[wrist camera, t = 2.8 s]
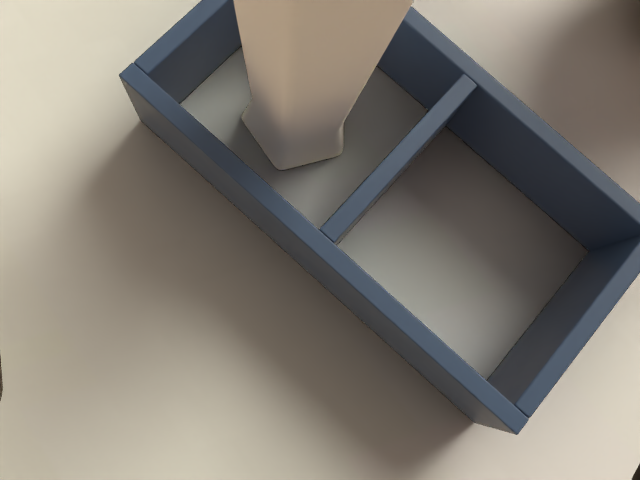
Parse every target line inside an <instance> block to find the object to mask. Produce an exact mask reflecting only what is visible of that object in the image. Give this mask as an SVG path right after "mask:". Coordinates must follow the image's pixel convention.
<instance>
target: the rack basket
mask: <svg viewBox="0 0 640 480" xmlns="http://www.w3.org/2000/svg"><path fill="white" fill-rule="evenodd" d="M241 45H242V43H241V38H240V33H239V28H238V22H237V17H236V12H235V7H234V1H233V0H202V1H201V2H199V3H198V4H197V5H196V6H195V7H194V8H193V9H192V10H191V11H189V12H188V13H187V14H186V15H185V16H184V17H183V18H182V19H181V20H180V21H178V22H177V23H176V24H175V25H174V26H173V27H172V28H171V29H170V30H168V31H167V32H166V33H165V34H164V35H163V36H162V37H161V38H160V39H158V40H157V41H156V42H155V43H154V44H153V45H152V46H151V47H150V48H149V49H147V50H146V51H145V52H144V53H143V54H142V55H141V56H140V57H139V58H137V59H136V60H135V61H134V63H131V64H130V65H129V66H128V67H127V68H126V69H125V70H124V71H123V72H122V73H120V74H119V77H120V79H121V81H122V83H123V85H124V87H125V89H126V91H127V93H128V95H129V97H130V99H131V102H132V104H133V106H134V108H135V110H136V112H137V114H138V116H139V118H140V120H141V121H142V122H143V123H144V124H145V125H146V126H148V127H149V128H150V129H151V130H152V131H153V132H154V133H155V134H156V135H157V136H159V137H160V138H161V139H162V140H163V141H164V142H165V143H166V144H167V145H169V146H170V147H171V148H172V149H173V150H174V151H175V152H176V153H177V154H178V155H180V156H181V157H182V158H183V159H184V160H185V161H186V162H187V163H188V164H189V165H191V166H192V167H193V168H194V169H195V170H196V171H197V172H198V173H199V174H201V175H202V176H203V177H204V178H205V179H206V180H207V181H208V182H209V183H210V184H212V185H213V186H214V187H215V188H216V189H217V190H218V191H219V192H220V193H222V194H223V195H224V196H225V197H226V198H227V199H228V200H229V201H230V202H231V203H233V204H234V205H235V206H236V207H237V208H238V209H239V210H240V211H241V212H242V213H244V214H245V215H246V216H247V217H248V218H249V219H250V220H251V221H252V222H254V223H255V224H256V225H257V226H258V227H259V228H260V229H261V230H262V231H263V232H265V233H266V234H267V235H268V236H269V237H270V238H271V239H272V240H273V241H275V242H276V243H277V244H278V245H279V246H280V247H281V248H282V249H283V250H284V251H286V252H287V253H288V254H289V255H290V256H291V257H292V258H293V259H294V260H295V261H297V262H298V263H299V264H300V265H301V266H302V267H303V268H304V269H305V270H307V271H308V272H309V273H310V274H311V275H312V276H313V277H314V278H315V279H316V280H318V281H319V282H320V283H321V284H322V285H323V286H324V287H325V288H326V289H327V290H329V291H330V292H331V293H332V294H333V295H334V296H335V297H336V298H337V299H339V300H340V301H341V302H342V303H343V304H344V305H345V306H346V307H347V308H348V309H350V310H351V311H352V312H353V313H354V314H355V315H356V316H357V317H358V318H360V319H361V320H362V321H363V322H364V323H365V324H366V325H367V326H368V327H369V328H371V329H372V330H373V331H374V332H375V333H376V334H377V335H378V336H379V337H380V338H382V339H383V340H384V341H385V342H386V343H387V344H388V345H389V346H390V347H392V348H393V349H394V350H395V351H396V352H397V353H398V354H399V355H400V356H401V357H403V358H404V359H405V360H406V361H407V362H408V363H409V364H410V365H411V366H412V367H414V368H415V369H416V370H417V371H418V372H419V373H420V374H421V375H422V376H424V377H425V378H426V379H427V380H428V381H429V382H430V383H431V384H432V385H433V386H435V387H436V388H437V389H438V390H439V391H440V392H441V393H442V394H443V395H445V396H446V397H447V398H448V399H449V400H450V401H451V402H452V403H453V404H454V405H456V406H457V407H458V408H459V409H460V410H461V411H462V412H463V413H464V414H465V415H467V416H468V417H469V418H470V419H471V420H472V421H473V422H474V423H477V424H481V425H485V426H488V427H492V428H495V429H499V430H502V431H506V432H509V433H513V434H516V435H517V434H518V433H519V432H520V431H521V429H522V428H523V427H524V425H525V424H526V423H527V421H528V420H529V419H528V418H530V417H531V416H532V414H533V413H534V412H535V410H536V409H537V408H538V406H539V405H540V404H541V402H542V401H543V400H544V398H545V397H546V396H547V394H548V393H549V392H550V390H551V389H552V388H553V387H554V385H555V384H556V383H557V381H558V380H559V379H560V377H561V376H562V375H563V373H564V372H565V371H566V369H567V368H568V367H569V365H570V364H571V363H572V361H573V360H574V359H575V357H576V356H577V355H578V354H579V352H580V351H581V350H582V348H583V347H584V346H585V344H586V343H587V342H588V340H589V339H590V338H591V336H592V335H593V334H594V332H595V331H596V330H597V328H598V327H599V326H600V324H601V323H602V322H603V321H604V319H605V318H606V317H607V315H608V314H609V313H610V311H611V310H612V309H613V307H614V306H615V305H616V303H617V302H618V301H619V299H620V298H621V297H622V295H623V294H624V293H625V291H626V290H627V289H628V287H629V286H630V285H631V284H632V282H633V281H634V280H635V278H636V277H637V276H638V274H639V273H640V203H639V202H637V201H636V200H635V199H634V198H633V197H632V196H630V195H629V194H628V193H627V192H626V191H625V190H624V189H622V188H621V187H620V186H619V185H618V184H617V183H615V182H614V181H613V180H612V179H611V178H610V177H608V176H607V175H606V174H605V173H604V172H603V171H601V170H600V169H599V168H598V167H597V166H596V165H595V164H593V163H592V162H591V161H590V160H589V159H588V158H586V157H585V156H584V155H583V154H582V153H581V152H579V151H578V150H577V149H576V148H575V147H574V146H573V145H571V144H570V143H569V142H568V141H567V140H566V139H564V138H563V137H562V136H561V135H560V134H559V133H557V132H556V131H555V130H554V129H553V128H552V127H551V126H549V125H548V124H547V123H546V122H545V121H544V120H542V119H541V118H540V117H539V116H538V115H537V114H535V113H534V112H533V111H532V110H531V109H530V108H528V107H527V106H526V105H525V104H524V103H523V102H522V101H520V100H519V99H518V98H517V97H516V96H515V95H513V94H512V93H511V92H510V91H509V90H508V89H506V88H505V87H504V86H503V85H502V84H501V83H500V82H498V81H497V80H496V79H495V78H494V77H493V76H491V75H490V74H489V73H488V72H487V71H486V70H484V69H483V68H482V67H481V66H480V65H479V64H477V63H476V62H475V61H474V60H473V59H472V58H471V57H469V56H468V55H467V54H466V53H465V52H464V51H462V50H461V49H460V48H459V47H458V46H457V45H455V44H454V43H453V42H452V41H451V40H450V39H449V38H447V37H446V36H445V35H444V34H443V33H442V32H440V31H439V30H438V29H437V28H436V27H435V26H433V25H432V24H431V23H430V22H429V21H428V20H427V19H425V18H424V17H423V16H422V15H421V14H420V13H418V12H417V11H416V10H415V9H414V8H413V7H411V6H410V8H409V10H408V12H407V13H406V15H405V17H404V18H403V20H402V22H401V24H400V25H399V27H398V29H397V31H396V32H395V34H394V36H393V38H392V39H391V41H390V43H389V45H388V46H387V48H386V50H385V51H384V53H383V55H382V57H381V58H380V60H379V62H378V64H377V66H378V67H379V68H381V69H382V70H383V71H384V72H385V73H386V74H387V75H389V76H390V77H391V78H392V79H393V80H394V81H395V82H397V83H398V84H399V85H400V86H401V87H402V88H403V89H405V90H406V91H407V92H408V93H409V94H410V95H411V96H413V97H414V98H415V99H416V100H417V101H418V102H419V103H421V104H422V105H423V106H424V107H425V108H426V109H427V110H429V111H428V113H427V114H426V115H425V116H424V117H423V118H422V119H421V120H420V121H419V122H418V123H417V124H416V125H415V127H414V128H413V129H412V130H411V131H410V132H409V133H408V134H407V135H406V136H405V137H404V138H403V139H402V141H401V142H400V143H399V144H398V145H397V146H396V147H395V148H394V149H393V150H392V151H391V152H390V154H389V155H388V156H387V157H386V158H385V159H384V160H383V161H382V162H381V163H380V164H379V165H378V166H377V168H376V169H375V170H374V171H373V172H372V173H371V174H370V175H369V176H368V177H367V178H366V179H365V180H364V182H363V183H362V184H361V185H360V186H359V187H358V188H357V189H356V190H355V191H354V192H353V193H352V194H351V196H350V197H349V198H348V199H347V200H346V201H345V202H344V203H343V204H342V205H341V206H340V207H339V208H338V210H337V211H336V212H335V213H334V214H333V215H332V216H331V217H330V218H329V219H328V220H327V221H326V223H325V224H324V225H323V226H322V227H321V228H320V229H319V230H318V229H317V228H316V227H315V226H314V225H313V224H312V223H311V222H310V221H308V220H307V219H306V218H305V217H304V216H303V215H302V214H301V213H300V212H298V211H297V210H296V209H295V208H294V207H293V206H292V205H291V204H290V203H288V202H287V201H286V200H285V199H284V198H283V197H282V196H281V195H280V194H278V193H277V192H276V191H275V190H274V189H273V188H272V187H271V186H270V185H268V184H267V183H266V182H265V181H264V180H263V179H262V178H261V177H260V176H258V175H257V174H256V173H255V172H254V171H253V170H252V169H251V168H250V167H248V166H247V165H246V164H245V163H244V162H243V161H242V160H241V159H239V158H238V157H237V156H236V155H235V154H234V153H233V152H232V151H231V150H229V149H228V148H227V147H226V146H225V145H224V144H223V143H222V142H221V141H219V140H218V139H217V138H216V137H215V136H214V135H213V134H212V133H211V132H209V131H208V130H207V129H206V128H205V127H204V126H203V125H202V124H201V123H199V122H198V121H197V120H196V119H195V118H194V117H193V116H192V115H191V114H189V113H188V112H187V111H186V110H185V109H184V108H183V107H182V106H181V105H179V104H180V103H181V102H182V101H183V100H184V99H185V98H186V97H187V96H188V95H189V94H190V93H191V92H192V91H193V90H194V89H195V88H197V87H198V86H199V85H200V84H201V83H202V82H203V81H204V80H205V79H206V78H207V77H208V76H209V75H210V74H211V73H212V72H213V71H215V70H216V69H217V68H218V67H219V66H220V65H221V64H222V63H223V62H224V61H225V60H226V59H227V58H228V57H229V56H230V55H231V54H233V53H234V52H235V51H236V50H237V49H238V48H239V47H240V46H241ZM445 126H447V127H448V128H449V129H450V130H451V131H453V132H454V133H455V134H456V135H457V136H458V137H460V138H461V139H462V140H463V141H464V142H465V143H466V144H468V145H469V146H470V147H471V148H472V149H473V150H474V151H476V152H477V153H478V154H479V155H480V156H481V157H482V158H484V159H485V160H486V161H487V162H488V163H489V164H490V165H492V166H493V167H494V168H495V169H496V170H497V171H498V172H500V173H501V174H502V175H503V176H504V177H505V178H506V179H508V180H509V181H510V182H511V183H512V184H513V185H514V186H516V187H517V188H518V189H519V190H520V191H521V192H522V193H524V194H525V195H526V196H527V197H528V198H529V199H530V200H532V201H533V202H534V203H535V204H536V205H537V206H538V207H540V208H541V209H542V210H543V211H544V212H545V213H547V214H548V215H549V216H550V217H551V218H552V219H553V220H555V221H556V222H557V223H558V224H559V225H560V226H561V227H563V228H564V229H565V230H566V231H567V232H568V233H569V234H571V235H572V236H573V237H574V238H575V239H576V240H577V241H579V242H580V243H581V244H582V245H583V246H584V247H585V248H587V249H588V250H589V251H590V252H588V253H587V254H586V256H585V257H584V258H583V259H582V261H581V262H580V263H579V265H578V266H577V267H576V268H575V270H574V271H573V272H572V273H571V275H570V276H569V277H568V278H567V280H566V281H565V282H564V284H563V285H562V286H561V287H560V289H559V290H558V291H557V292H556V294H555V295H554V296H553V297H552V299H551V300H550V301H549V303H548V304H547V305H546V306H545V308H544V309H543V310H542V311H541V313H540V314H539V315H538V316H537V318H536V319H535V320H534V322H533V323H532V324H531V325H530V327H529V328H528V329H527V330H526V332H525V333H524V334H523V336H522V337H521V338H520V339H519V341H518V342H517V343H516V344H515V346H514V347H513V348H512V349H511V351H510V352H509V353H508V355H507V356H506V357H505V358H504V360H503V361H502V362H501V363H500V365H499V366H498V367H497V368H496V370H495V371H494V372H493V374H492V375H491V376H490V377H489V379H488V380H487V381H486V380H485V379H484V378H483V377H482V376H481V375H480V374H479V373H477V372H476V371H475V370H474V369H473V368H472V367H471V366H470V365H468V364H467V363H466V362H465V361H464V360H463V359H462V358H461V357H460V356H458V355H457V354H456V353H455V352H454V351H453V350H452V349H451V348H450V347H448V346H447V345H446V344H445V343H444V342H443V341H442V340H441V339H440V338H438V337H437V336H436V335H435V334H434V333H433V332H432V331H431V330H430V329H428V328H427V327H426V326H425V325H424V324H423V323H422V322H421V321H420V320H418V319H417V318H416V317H415V316H414V315H413V314H412V313H411V312H410V311H408V310H407V309H406V308H405V307H404V306H403V305H402V304H401V303H400V302H398V301H397V300H396V299H395V298H394V297H393V296H392V295H391V294H390V293H388V292H387V291H386V290H385V289H384V288H383V287H382V286H381V285H380V284H378V283H377V282H376V281H375V280H374V279H373V278H372V277H371V276H370V275H368V274H367V273H366V272H365V271H364V270H363V269H362V268H361V267H360V266H358V265H357V264H356V263H355V262H354V261H353V260H352V259H351V258H350V257H348V256H347V255H346V254H345V253H344V252H343V251H342V250H341V249H340V248H338V247H337V246H336V245H337V244H338V243H339V242H340V241H341V240H342V239H343V238H344V237H345V236H346V234H347V233H348V232H349V231H350V230H351V229H352V228H353V227H354V226H355V225H356V223H357V222H358V221H359V220H360V219H361V218H362V217H363V216H364V215H365V214H366V212H367V211H368V210H369V209H370V208H371V207H372V206H373V205H374V204H375V203H376V202H377V200H378V199H379V198H380V197H381V196H382V195H383V194H384V193H385V192H386V191H387V189H388V188H389V187H390V186H391V185H392V184H393V183H394V182H395V181H396V180H397V179H398V177H399V176H400V175H401V174H402V173H403V172H404V171H405V170H406V169H407V168H408V166H409V165H410V164H411V163H412V162H413V161H414V160H415V159H416V158H417V157H418V155H419V154H420V153H421V152H422V151H423V150H424V149H425V148H426V147H427V146H428V145H429V143H430V142H431V141H432V140H433V139H434V138H435V137H436V136H437V135H438V134H439V132H440V131H441V130H442V129H443V128H444V127H445Z"/></svg>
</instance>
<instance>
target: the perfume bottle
mask: <svg viewBox="0 0 640 480" xmlns="http://www.w3.org/2000/svg"><path fill="white" fill-rule="evenodd" d="M233 1H234V7H235V12H236V17H237V22H238V28H239V33H240V38H241V43H242V49H243V54H244V59H245V64H246V70H247V75H248V80H249V85H250V91H251V96H252V99H251V101H250V103H249V104H248V106H247V107H246V109H245V111H244V112H243V114H242V120H243V122H244V124H245V125H246V126H247V128H248V129H249V131H250V132H251V134H252V135H253V137H254V138H255V139H256V141H257V142H258V144H259V145H260V147H261V148H262V149H263V151H264V152H265V154H266V155H267V157H268V158H269V159H270V161H271V162H272V164H273V165H274V166H275V167H276V168H277V169H279V170H286V169H290V168H293V167H297V166H301V165H305V164H309V163H313V162H317V161H320V160H324V159H328V158H332V157H336V156H338V155H340V154H341V153H342V152H343V145H344V121H345V119H346V117H347V116H348V114H349V112H350V110H351V109H352V107H353V105H354V103H355V102H356V100H357V98H358V97H359V95H360V93H361V91H362V90H363V88H364V86H365V84H366V83H367V81H368V79H369V77H370V76H371V74H372V72H373V71H374V69H375V67H376V65H377V64H378V62H379V60H380V58H381V57H382V55H383V53H384V51H385V50H386V48H387V46H388V45H389V43H390V41H391V39H392V38H393V36H394V34H395V32H396V31H397V29H398V27H399V25H400V24H401V22H402V20H403V18H404V17H405V15H406V13H407V12H408V10H409V8H410V6H411V5H412V3H413V1H414V0H233Z"/></svg>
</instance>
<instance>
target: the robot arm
mask: <svg viewBox="0 0 640 480" xmlns="http://www.w3.org/2000/svg"><path fill="white" fill-rule="evenodd" d="M2 391H3V383H2V370H1V356H0V401H1V397H2ZM632 480H640V464H639V466H638V468H637V470H636V471H635V473H634V475H633V478H632Z"/></svg>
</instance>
